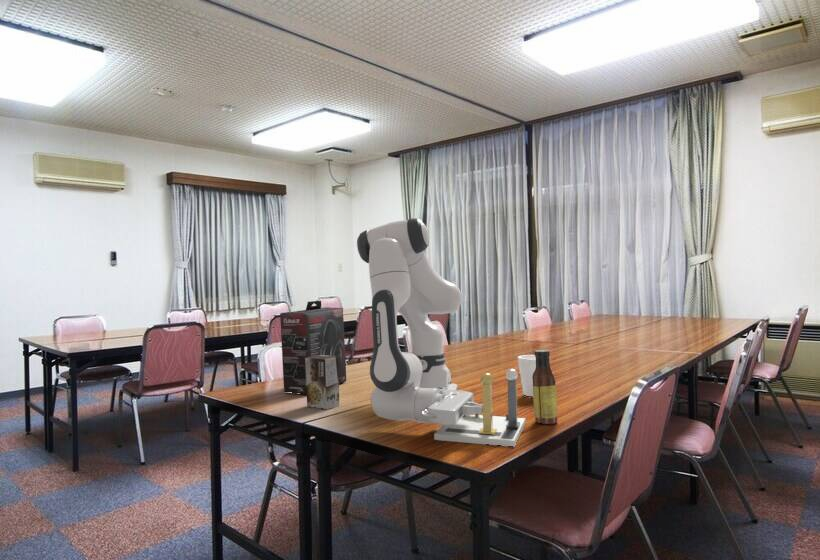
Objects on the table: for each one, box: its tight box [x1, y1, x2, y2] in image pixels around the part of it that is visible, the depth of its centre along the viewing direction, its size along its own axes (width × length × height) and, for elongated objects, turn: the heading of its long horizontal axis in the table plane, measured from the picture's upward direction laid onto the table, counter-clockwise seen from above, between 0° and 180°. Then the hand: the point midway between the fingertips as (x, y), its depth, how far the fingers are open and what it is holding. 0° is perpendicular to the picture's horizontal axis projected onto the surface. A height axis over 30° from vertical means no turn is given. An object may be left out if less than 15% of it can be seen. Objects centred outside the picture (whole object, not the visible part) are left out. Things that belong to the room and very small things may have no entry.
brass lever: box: [479, 372, 497, 435], centre depth 128 cm, size 3×4×15 cm
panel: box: [433, 413, 527, 448], centre depth 135 cm, size 20×20×3 cm
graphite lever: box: [505, 368, 520, 429], centre depth 133 cm, size 4×3×15 cm
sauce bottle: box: [532, 349, 559, 425], centre depth 142 cm, size 7×6×20 cm
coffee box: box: [305, 355, 340, 410], centre depth 166 cm, size 9×6×16 cm
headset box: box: [279, 300, 347, 395], centre depth 194 cm, size 24×13×33 cm, turn 154°
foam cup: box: [517, 354, 536, 397], centre depth 173 cm, size 10×9×13 cm
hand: (483, 409), depth 128 cm, fingers closed, pressing on brass lever
